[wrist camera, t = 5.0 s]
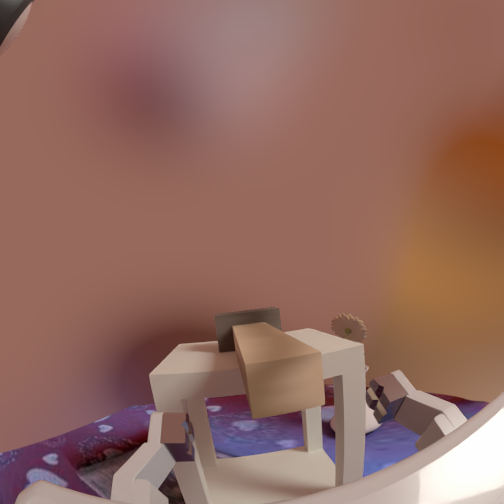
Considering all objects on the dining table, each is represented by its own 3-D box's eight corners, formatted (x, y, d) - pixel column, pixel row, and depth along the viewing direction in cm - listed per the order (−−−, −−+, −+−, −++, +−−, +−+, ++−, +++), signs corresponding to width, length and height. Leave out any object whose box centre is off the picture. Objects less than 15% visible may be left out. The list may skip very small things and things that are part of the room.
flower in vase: (394, 424, 40) (392, 307, 44) (350, 447, 37) (345, 320, 41) (358, 408, 52) (352, 308, 56) (317, 424, 49) (307, 318, 53)
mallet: (214, 423, 9) (201, 340, 10) (219, 346, 27) (215, 313, 28) (357, 395, 10) (352, 317, 10) (276, 339, 28) (272, 307, 28)
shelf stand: (213, 562, 13) (149, 374, 17) (213, 499, 26) (179, 344, 30) (353, 536, 15) (363, 344, 19) (319, 482, 28) (309, 328, 32)
